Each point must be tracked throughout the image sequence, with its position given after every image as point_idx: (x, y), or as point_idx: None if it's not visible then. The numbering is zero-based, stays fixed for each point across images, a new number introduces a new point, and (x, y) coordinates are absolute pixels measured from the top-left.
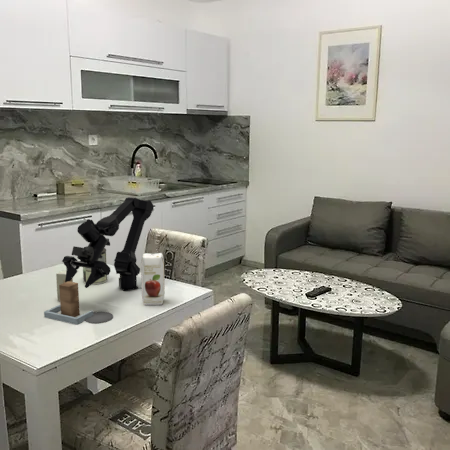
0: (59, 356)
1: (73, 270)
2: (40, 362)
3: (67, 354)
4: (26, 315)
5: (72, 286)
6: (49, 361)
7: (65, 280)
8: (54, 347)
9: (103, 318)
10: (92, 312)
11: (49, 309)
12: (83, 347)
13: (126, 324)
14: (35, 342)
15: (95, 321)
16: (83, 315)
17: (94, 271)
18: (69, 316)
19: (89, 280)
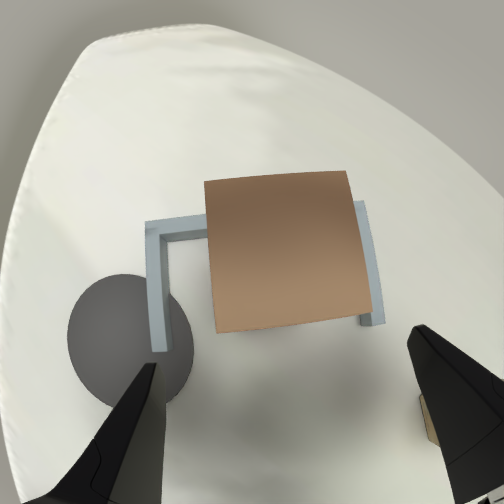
0: (71, 79)
1: (479, 468)
2: (96, 48)
3: (58, 94)
4: (418, 187)
5: (208, 237)
6: (80, 60)
7: (436, 336)
8: (107, 88)
9: (92, 338)
10: (154, 344)
11: (368, 233)
12: (38, 135)
13: (11, 338)
14: (180, 71)
15: (97, 291)
16: (148, 274)
17: (32, 501)
18: (201, 225)
19: (107, 418)
